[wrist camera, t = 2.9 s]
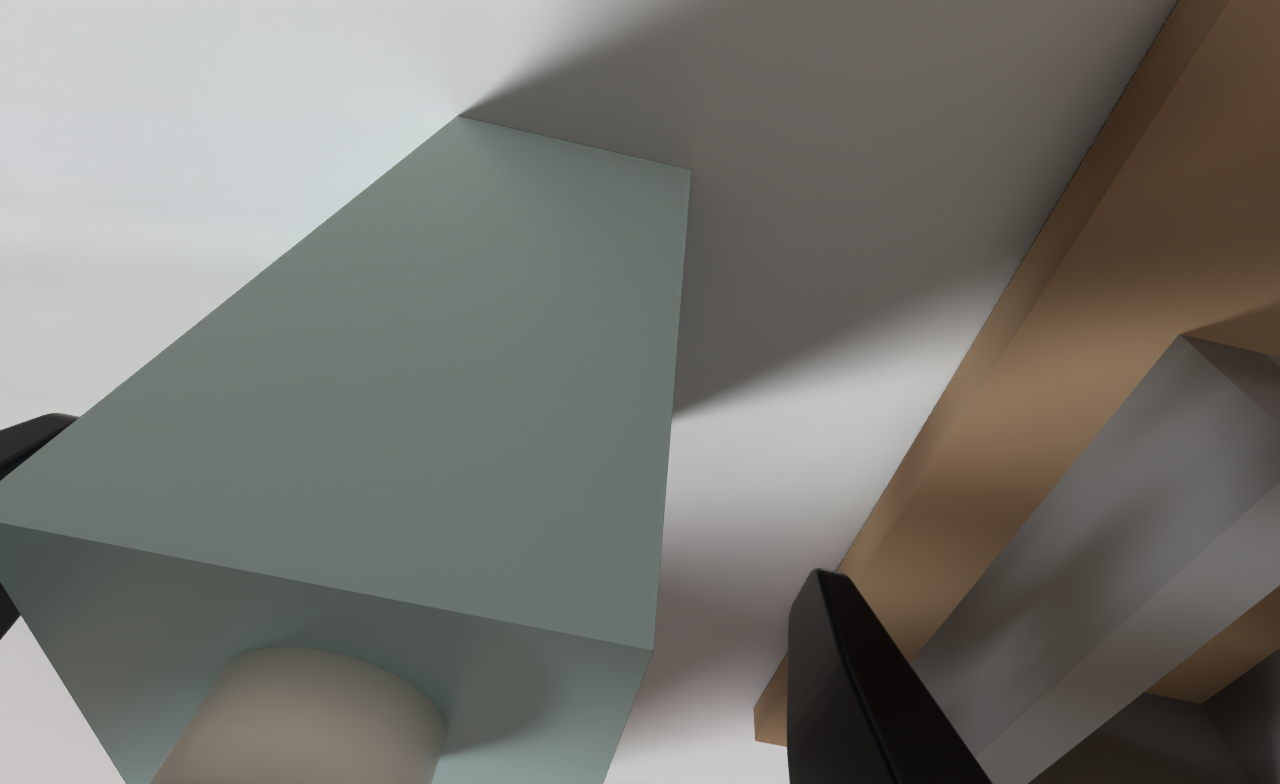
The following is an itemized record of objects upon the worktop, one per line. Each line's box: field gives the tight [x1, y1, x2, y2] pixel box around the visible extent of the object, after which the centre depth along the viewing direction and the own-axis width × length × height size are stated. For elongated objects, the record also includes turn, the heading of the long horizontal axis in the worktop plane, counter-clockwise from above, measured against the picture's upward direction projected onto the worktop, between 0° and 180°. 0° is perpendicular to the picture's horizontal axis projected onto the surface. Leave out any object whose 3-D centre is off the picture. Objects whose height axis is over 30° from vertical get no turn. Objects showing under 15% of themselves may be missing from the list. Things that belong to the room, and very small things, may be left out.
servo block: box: [0, 116, 691, 784], centre depth 9 cm, size 6×4×10 cm, turn 169°
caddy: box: [754, 0, 1280, 784], centre depth 14 cm, size 20×14×4 cm
